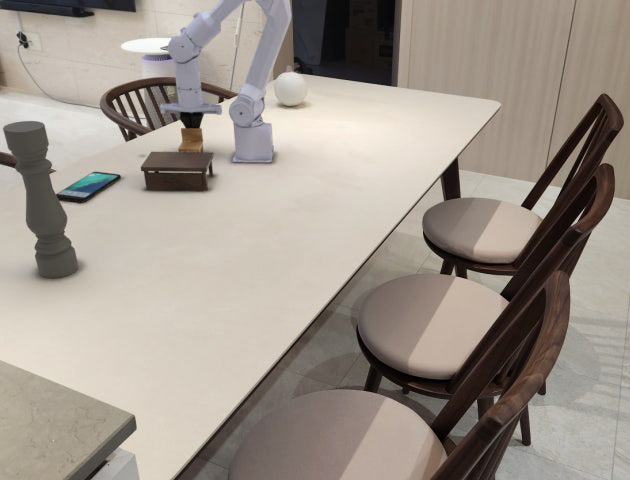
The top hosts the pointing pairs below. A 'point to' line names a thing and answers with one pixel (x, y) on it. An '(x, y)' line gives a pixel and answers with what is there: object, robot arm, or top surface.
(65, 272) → the candle holder
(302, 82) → the ornament
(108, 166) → the top surface
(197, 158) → the desk
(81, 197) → the smartphone
